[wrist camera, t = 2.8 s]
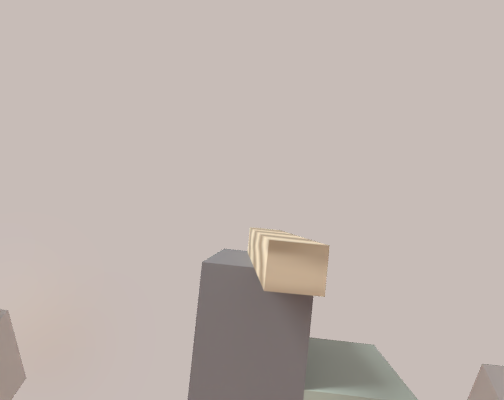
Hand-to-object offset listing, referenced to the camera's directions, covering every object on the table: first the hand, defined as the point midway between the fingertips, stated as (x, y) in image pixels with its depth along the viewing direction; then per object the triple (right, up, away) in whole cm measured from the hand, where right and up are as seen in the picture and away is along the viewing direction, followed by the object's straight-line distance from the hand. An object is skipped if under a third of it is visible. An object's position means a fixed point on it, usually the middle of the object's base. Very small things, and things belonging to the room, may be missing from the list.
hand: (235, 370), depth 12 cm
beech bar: (+2, 0, +20) cm, 20 cm away
